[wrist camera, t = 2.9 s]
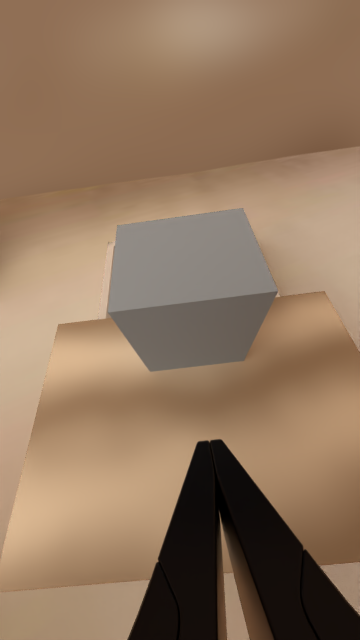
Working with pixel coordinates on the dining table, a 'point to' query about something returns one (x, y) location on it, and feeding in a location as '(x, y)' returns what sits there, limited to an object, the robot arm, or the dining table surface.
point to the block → (190, 289)
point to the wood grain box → (185, 446)
